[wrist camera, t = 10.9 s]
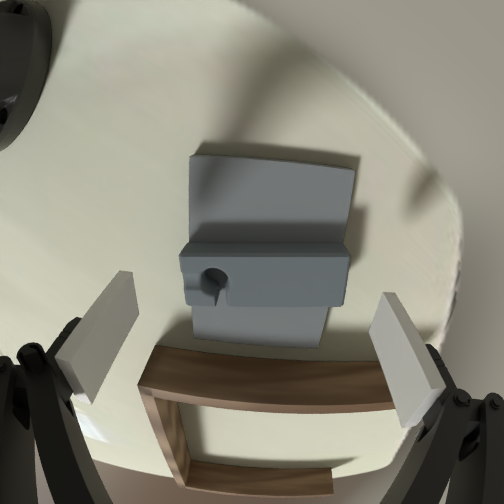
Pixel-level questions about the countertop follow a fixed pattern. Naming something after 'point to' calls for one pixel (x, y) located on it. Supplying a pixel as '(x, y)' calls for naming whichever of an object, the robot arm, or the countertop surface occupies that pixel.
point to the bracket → (267, 274)
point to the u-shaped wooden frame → (252, 399)
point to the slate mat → (264, 235)
